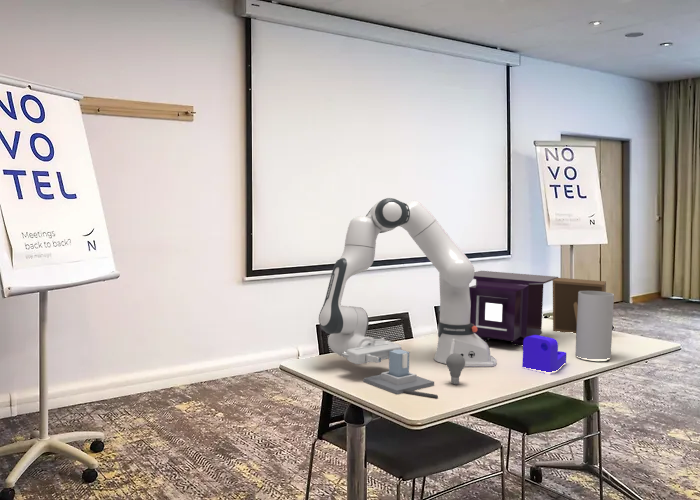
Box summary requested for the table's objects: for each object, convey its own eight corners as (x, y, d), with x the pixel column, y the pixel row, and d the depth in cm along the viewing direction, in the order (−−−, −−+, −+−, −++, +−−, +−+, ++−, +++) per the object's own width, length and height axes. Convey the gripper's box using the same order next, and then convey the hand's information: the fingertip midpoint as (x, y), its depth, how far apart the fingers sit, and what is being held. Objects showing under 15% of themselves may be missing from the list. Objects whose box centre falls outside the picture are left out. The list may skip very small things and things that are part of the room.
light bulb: (443, 381, 202) (444, 351, 201) (461, 381, 202) (462, 350, 202) (448, 386, 196) (449, 355, 195) (466, 386, 196) (467, 355, 196)
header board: (399, 373, 209) (400, 364, 209) (434, 385, 197) (434, 375, 197) (363, 381, 200) (363, 372, 199) (397, 394, 187) (397, 384, 187)
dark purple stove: (479, 328, 288) (481, 270, 286) (555, 338, 269) (558, 276, 267) (449, 342, 258) (451, 277, 256) (532, 354, 240) (535, 285, 238)
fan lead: (402, 393, 189) (402, 389, 188) (404, 392, 189) (404, 388, 189) (437, 398, 184) (437, 395, 184) (438, 397, 185) (438, 394, 184)
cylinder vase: (617, 360, 233) (621, 294, 231) (596, 364, 227) (599, 296, 225) (589, 352, 244) (592, 290, 242) (568, 356, 238) (571, 292, 236)
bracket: (549, 375, 212) (551, 341, 211) (522, 368, 220) (523, 335, 219) (576, 366, 224) (578, 334, 223) (549, 360, 232) (551, 329, 231)
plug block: (399, 376, 201) (399, 349, 201) (410, 380, 197) (410, 352, 196) (388, 378, 199) (389, 351, 198) (399, 382, 194) (400, 354, 194)
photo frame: (555, 329, 289) (557, 276, 287) (605, 335, 278) (607, 280, 276) (547, 335, 276) (550, 279, 274) (599, 341, 265) (602, 283, 263)
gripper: (339, 344, 205) (366, 352, 194) (385, 336, 218) (412, 344, 207) (338, 363, 205) (365, 372, 195) (384, 354, 218) (412, 363, 207)
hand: (390, 358), depth 201 cm, fingers open, 8 cm apart
